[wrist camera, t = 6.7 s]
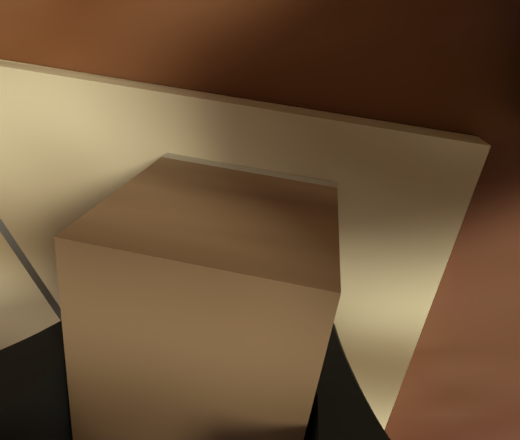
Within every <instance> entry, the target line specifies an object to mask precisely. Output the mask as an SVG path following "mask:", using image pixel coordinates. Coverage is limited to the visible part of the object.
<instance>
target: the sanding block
mask: <svg viewBox="0 0 520 440" xmlns="http://www.w3.org/2000/svg"><path fill="white" fill-rule="evenodd" d="M54 244H55V255H56V266H57V276H58V287H59V298H60V308H61V319H62V330H63V341H64V351H65V362H66V373H67V383H68V394H69V405H70V416H71V426H72V437H73V440H304V436H305V432H306V428H307V424H308V420H309V416H310V413H311V409H312V405H313V401H314V397H315V393H316V389H317V385H318V381H319V377H320V374H321V370H322V366H323V362H324V358H325V354H326V350H327V346H328V342H329V338H330V335H331V331H332V327H333V323H334V319H335V315H336V311H337V307H338V303H339V299H340V296H341V278H340V250H339V221H338V193H337V182H332V181H326V180H320V179H315V178H309V177H303V176H297V175H292V174H286V173H280V172H274V171H269V170H263V169H257V168H251V167H246V166H240V165H234V164H228V163H223V162H217V161H211V160H205V159H200V158H194V157H188V156H182V155H177V154H171V153H166V154H165V155H164V156H162V157H161V158H160V159H158V160H157V161H156V162H154V163H153V164H151V165H150V166H149V167H147V168H146V169H145V170H143V171H142V172H141V173H139V174H138V175H137V176H135V177H134V178H133V179H131V180H130V181H129V182H127V183H126V184H124V185H123V186H122V187H120V188H119V189H118V190H116V191H115V192H114V193H112V194H111V195H110V196H108V197H107V198H106V199H104V200H103V201H102V202H100V203H99V204H98V205H96V206H95V207H93V208H92V209H91V210H89V211H88V212H87V213H85V214H84V215H83V216H81V217H80V218H79V219H77V220H76V221H75V222H73V223H72V224H71V225H69V226H68V227H66V228H65V229H64V230H62V231H61V232H60V233H58V234H57V235H56V236H54Z"/></svg>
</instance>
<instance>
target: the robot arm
mask: <svg viewBox="0 0 520 440" xmlns="http://www.w3.org/2000/svg"><path fill="white" fill-rule="evenodd" d="M0 440H73V437H72V426H71V416H70V405H69V394H68V383H67V373H66V362H65V351H64V341H63V330H62V320H61V321H59V322H57V323H56V324H54V325H52V326H50V327H48V328H46V329H44V330H42V331H40V332H39V333H37V334H34V335H32V336H30V337H28V338H26V339H24V340H22V341H20V342H17V343H15V344H13V345H10V346H8V347H6V348H3V349H1V350H0ZM304 440H390V438H389V437H388V435H387V434H386V432H385V431H384V429H383V427H382V426H381V424H380V422H379V421H378V419H377V417H376V416H375V414H374V412H373V410H372V409H371V407H370V405H369V403H368V401H367V399H366V397H365V396H364V394H363V392H362V390H361V388H360V386H359V384H358V382H357V380H356V377H355V375H354V373H353V371H352V369H351V367H350V364H349V362H348V360H347V357H346V355H345V352H344V350H343V347H342V345H341V342H340V339H339V336H338V333H337V330H336V327H335V324H334V323H333V327H332V331H331V335H330V338H329V342H328V346H327V350H326V354H325V358H324V362H323V366H322V370H321V374H320V377H319V381H318V385H317V389H316V393H315V397H314V401H313V405H312V409H311V413H310V416H309V420H308V424H307V428H306V432H305V436H304Z"/></svg>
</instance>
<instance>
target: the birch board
mask: <svg viewBox="0 0 520 440" xmlns="http://www.w3.org/2000/svg"><path fill="white" fill-rule="evenodd" d="M490 147H491V146H490V145H489V144H488V143H486V142H485V141H483V140H482V139H481V138H479V137H478V136H473V135H467V134H461V133H455V132H448V131H442V130H436V129H430V128H424V127H417V126H411V125H405V124H399V123H393V122H386V121H380V120H374V119H368V118H361V117H355V116H349V115H343V114H337V113H330V112H324V111H318V110H312V109H306V108H299V107H293V106H287V105H281V104H275V103H268V102H262V101H256V100H250V99H244V98H237V97H231V96H225V95H219V94H213V93H206V92H200V91H194V90H188V89H182V88H175V87H169V86H163V85H157V84H151V83H144V82H138V81H132V80H126V79H120V78H113V77H107V76H101V75H95V74H89V73H82V72H76V71H70V70H64V69H58V68H51V67H45V66H39V65H33V64H26V63H20V62H14V61H8V60H2V59H0V350H1V349H3V348H6V347H8V346H10V345H13V344H15V343H17V342H20V341H22V340H24V339H26V338H28V337H30V336H32V335H34V334H37V333H39V332H40V331H42V330H44V329H46V328H48V327H50V326H52V325H54V324H56V323H57V322H59V321H61V320H62V319H61V308H60V298H59V287H58V276H57V266H56V255H55V244H54V236H56V235H57V234H58V233H60V232H61V231H62V230H64V229H65V228H66V227H68V226H69V225H71V224H72V223H73V222H75V221H76V220H77V219H79V218H80V217H81V216H83V215H84V214H85V213H87V212H88V211H89V210H91V209H92V208H93V207H95V206H96V205H98V204H99V203H100V202H102V201H103V200H104V199H106V198H107V197H108V196H110V195H111V194H112V193H114V192H115V191H116V190H118V189H119V188H120V187H122V186H123V185H124V184H126V183H127V182H129V181H130V180H131V179H133V178H134V177H135V176H137V175H138V174H139V173H141V172H142V171H143V170H145V169H146V168H147V167H149V166H150V165H151V164H153V163H154V162H156V161H157V160H158V159H160V158H161V157H162V156H164V155H165V154H166V153H171V154H177V155H182V156H188V157H194V158H200V159H205V160H211V161H217V162H223V163H228V164H234V165H240V166H246V167H251V168H257V169H263V170H269V171H274V172H280V173H286V174H292V175H297V176H303V177H309V178H315V179H320V180H326V181H332V182H337V193H338V221H339V250H340V278H341V296H340V299H339V303H338V307H337V311H336V315H335V319H334V324H335V327H336V330H337V333H338V336H339V339H340V342H341V345H342V347H343V350H344V352H345V355H346V357H347V360H348V362H349V364H350V367H351V369H352V371H353V373H354V375H355V377H356V380H357V382H358V384H359V386H360V388H361V390H362V392H363V394H364V396H365V397H366V399H367V401H368V403H369V405H370V407H371V409H372V410H373V412H374V414H375V416H376V417H377V419H378V421H379V422H380V424H381V426H382V427H383V429H385V427H386V424H387V421H388V419H389V416H390V413H391V411H392V408H393V405H394V403H395V400H396V397H397V395H398V392H399V389H400V387H401V384H402V381H403V379H404V376H405V373H406V371H407V368H408V365H409V363H410V360H411V357H412V355H413V352H414V349H415V347H416V344H417V341H418V339H419V336H420V334H421V331H422V328H423V326H424V323H425V320H426V318H427V315H428V312H429V310H430V307H431V304H432V302H433V299H434V296H435V294H436V291H437V288H438V286H439V283H440V280H441V278H442V275H443V272H444V270H445V267H446V264H447V262H448V259H449V256H450V254H451V251H452V248H453V246H454V243H455V240H456V238H457V235H458V232H459V230H460V227H461V224H462V222H463V219H464V216H465V214H466V211H467V208H468V206H469V203H470V200H471V198H472V195H473V192H474V190H475V187H476V184H477V182H478V179H479V176H480V174H481V171H482V168H483V166H484V163H485V160H486V158H487V155H488V152H489V150H490Z"/></svg>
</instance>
